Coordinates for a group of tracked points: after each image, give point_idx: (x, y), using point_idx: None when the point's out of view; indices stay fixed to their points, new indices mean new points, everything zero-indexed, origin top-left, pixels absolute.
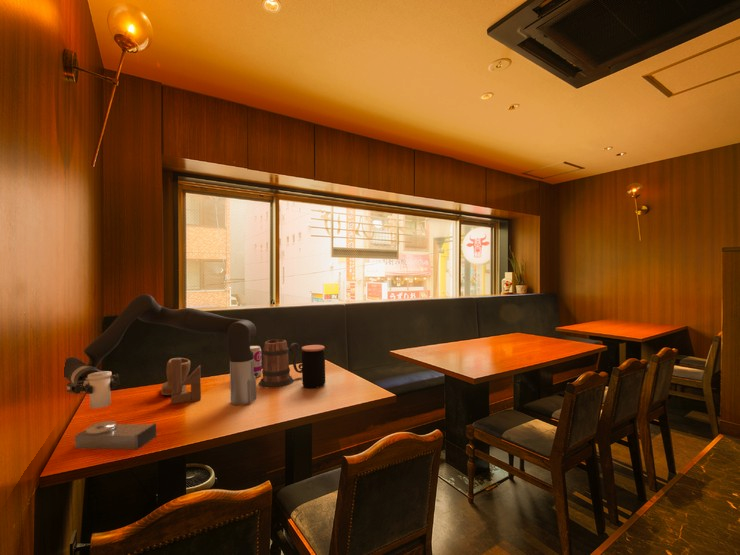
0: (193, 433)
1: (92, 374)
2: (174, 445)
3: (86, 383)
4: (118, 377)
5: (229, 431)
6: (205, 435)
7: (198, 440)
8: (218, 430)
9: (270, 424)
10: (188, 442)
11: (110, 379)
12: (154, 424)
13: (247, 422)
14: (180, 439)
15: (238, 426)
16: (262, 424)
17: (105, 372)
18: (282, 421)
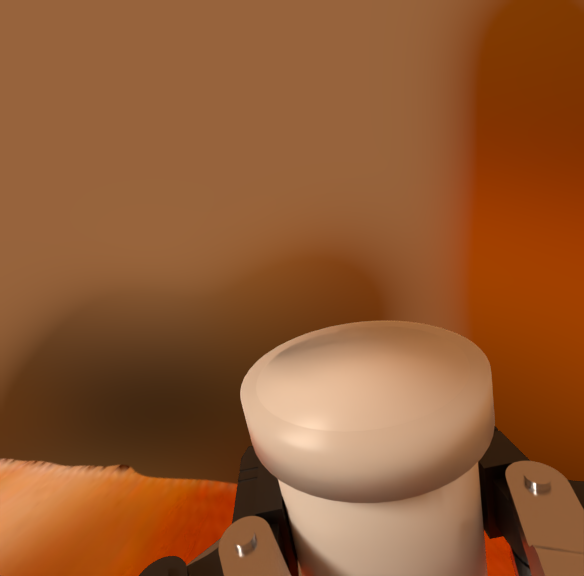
0: (125, 540)
1: (435, 367)
2: (213, 491)
3: (536, 503)
4: (155, 561)
5: (88, 485)
6: (129, 500)
7: (163, 482)
8: (86, 510)
9: (30, 463)
10: (183, 486)
11: (259, 517)
12: (191, 563)
13: (12, 510)
14: (177, 520)
15: (48, 500)
16: (30, 474)
17: (297, 381)
18: (8, 462)
